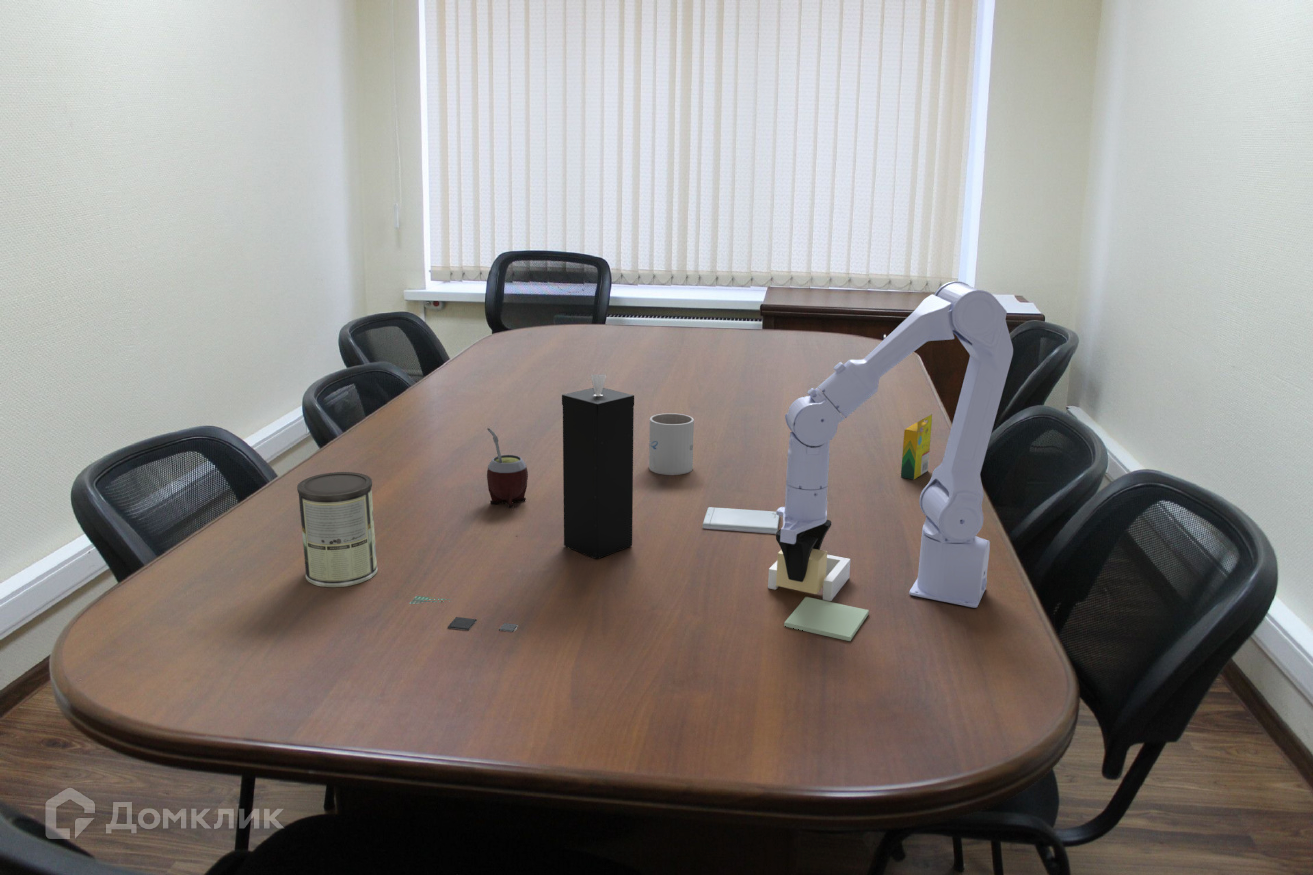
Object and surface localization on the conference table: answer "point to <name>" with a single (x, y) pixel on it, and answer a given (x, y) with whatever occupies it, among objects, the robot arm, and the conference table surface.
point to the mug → (671, 443)
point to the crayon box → (916, 449)
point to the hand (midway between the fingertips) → (801, 573)
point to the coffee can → (338, 529)
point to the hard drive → (741, 520)
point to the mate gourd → (506, 477)
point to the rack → (834, 576)
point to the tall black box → (598, 469)
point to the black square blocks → (463, 622)
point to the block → (813, 573)
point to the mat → (827, 618)
